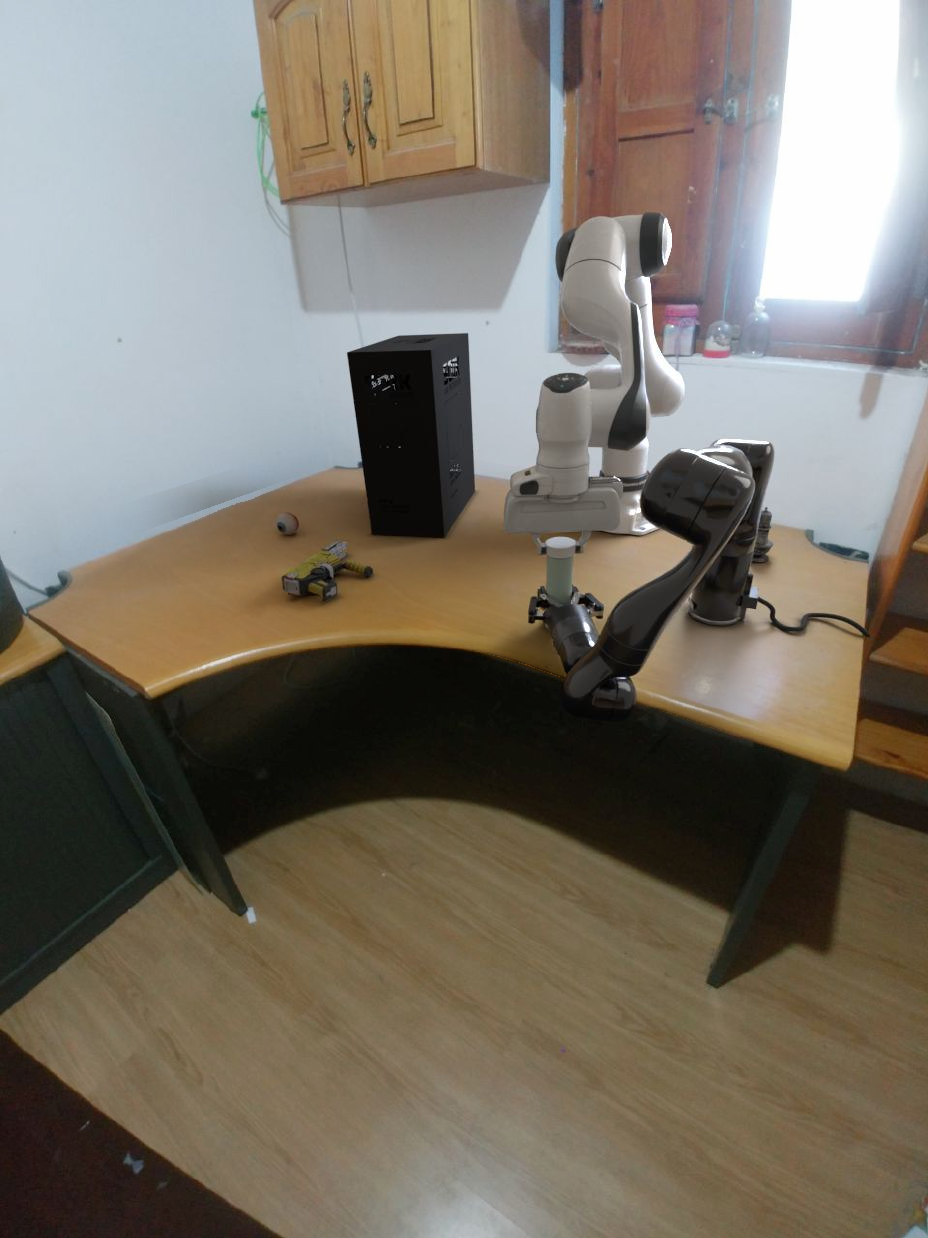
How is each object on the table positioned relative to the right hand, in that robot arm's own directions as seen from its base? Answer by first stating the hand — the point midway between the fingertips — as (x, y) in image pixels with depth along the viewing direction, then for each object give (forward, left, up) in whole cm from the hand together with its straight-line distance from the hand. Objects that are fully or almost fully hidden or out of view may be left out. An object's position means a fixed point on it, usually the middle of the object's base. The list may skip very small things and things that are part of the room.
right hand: (556, 589), depth 115 cm
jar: (0, +3, -6) cm, 7 cm away
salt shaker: (-50, -21, -6) cm, 54 cm away
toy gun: (+46, -25, -6) cm, 52 cm away
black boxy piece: (+25, -66, -6) cm, 71 cm away
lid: (0, +3, +10) cm, 11 cm away
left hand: (0, +3, +9) cm, 9 cm away
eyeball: (+63, -55, -6) cm, 84 cm away
